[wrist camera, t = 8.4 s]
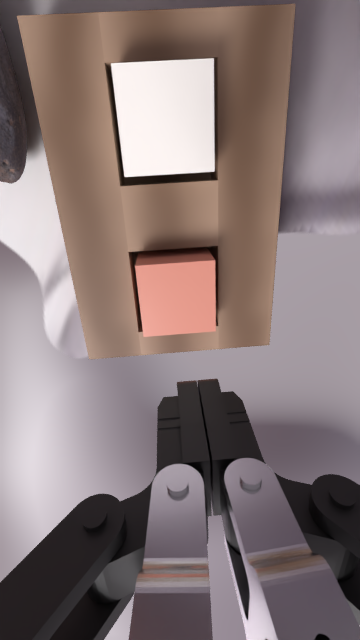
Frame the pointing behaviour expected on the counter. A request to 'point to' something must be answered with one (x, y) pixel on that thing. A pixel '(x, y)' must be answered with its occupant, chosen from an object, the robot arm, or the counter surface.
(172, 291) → the salmon pink block
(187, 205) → the frame
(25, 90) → the counter surface
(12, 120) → the perforated stone tool
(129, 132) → the key white
